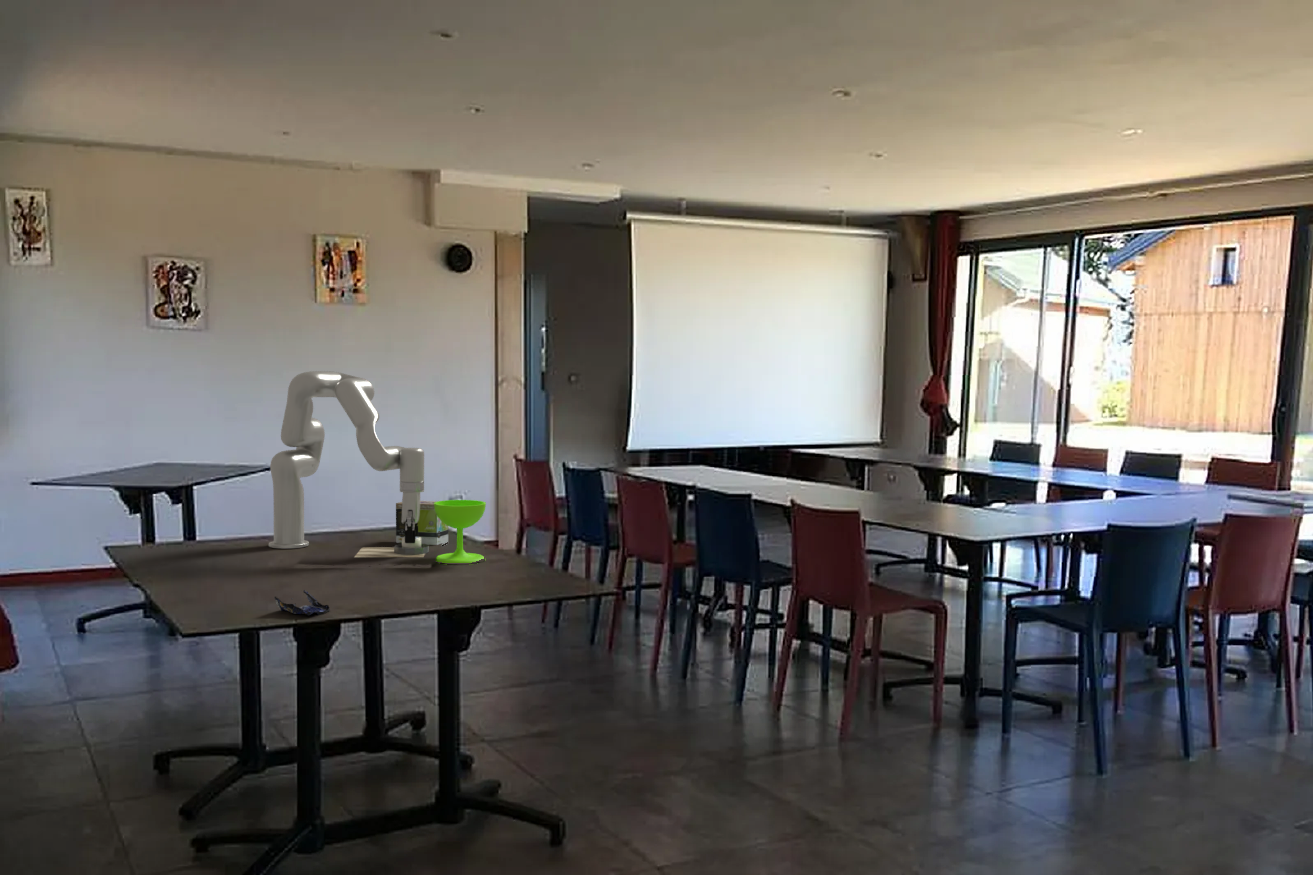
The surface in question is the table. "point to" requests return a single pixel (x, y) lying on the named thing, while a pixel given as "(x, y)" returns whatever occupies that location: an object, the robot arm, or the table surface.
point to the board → (381, 552)
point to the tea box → (424, 525)
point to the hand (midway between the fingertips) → (411, 540)
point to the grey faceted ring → (411, 550)
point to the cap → (412, 545)
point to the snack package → (306, 609)
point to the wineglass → (459, 525)
